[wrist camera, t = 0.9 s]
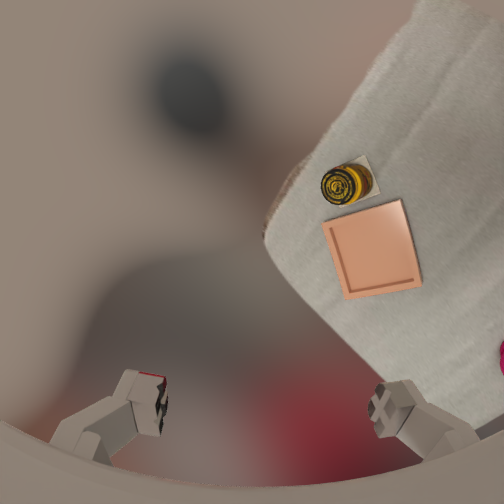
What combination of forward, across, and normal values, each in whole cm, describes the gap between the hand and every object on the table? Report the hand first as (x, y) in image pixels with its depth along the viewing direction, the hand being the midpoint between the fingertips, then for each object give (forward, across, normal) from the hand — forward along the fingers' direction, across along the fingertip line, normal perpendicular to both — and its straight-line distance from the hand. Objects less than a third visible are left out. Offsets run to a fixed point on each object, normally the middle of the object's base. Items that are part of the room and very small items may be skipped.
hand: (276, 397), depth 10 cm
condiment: (+43, -18, -7) cm, 47 cm away
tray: (+40, -23, +4) cm, 47 cm away
